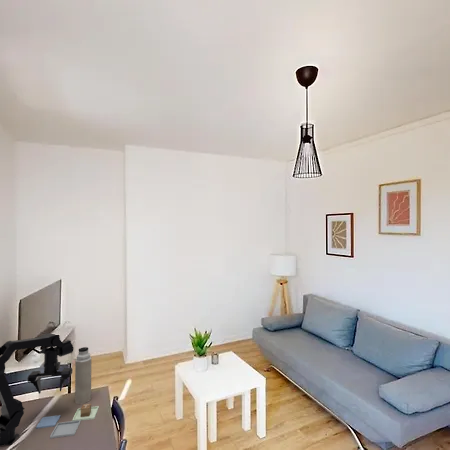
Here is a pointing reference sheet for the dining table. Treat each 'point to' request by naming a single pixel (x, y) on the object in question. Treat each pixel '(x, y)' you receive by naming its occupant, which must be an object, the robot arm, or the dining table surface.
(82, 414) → the letter cube
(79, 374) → the thermos bottle
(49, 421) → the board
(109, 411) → the dining table surface
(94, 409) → the green tray
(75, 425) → the grey tray
